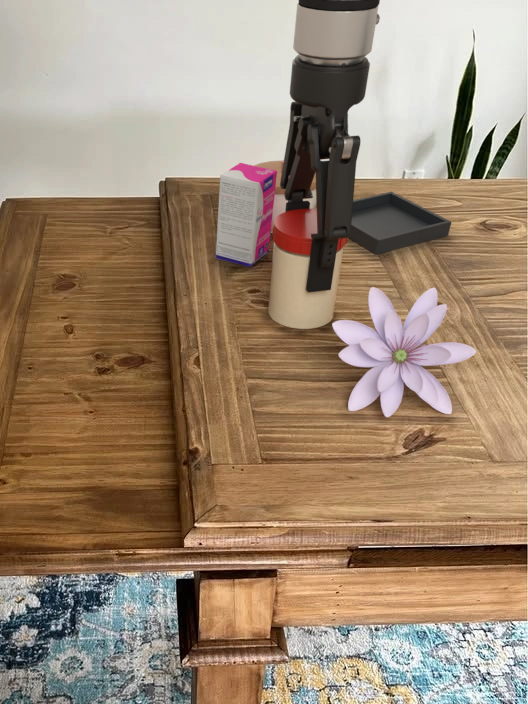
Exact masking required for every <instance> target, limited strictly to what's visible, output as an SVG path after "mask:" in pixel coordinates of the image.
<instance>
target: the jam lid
mask: <svg viewBox="0 0 528 704" xmlns="http://www.w3.org/2000/svg"><path fill="white" fill-rule="evenodd" d="M316 233H317V208H315V209H296V210H291V211H287V212H284V213H282V214H280V215H278V216H277V217H276V218H275V220H274V228H273V234H272V238H271V240H272V241H273V244H274V243H275V244H276V245H277V246H279V247H280V248H282V249H284V250H286V251H289V252H292V253H297V254H303V255H310V254H311V246H312V238H311V234H316ZM347 243H348V238H343V239H338V246H337V251H338V250H340V249H342V248H343V247H344V248H345V246H346V245H347Z"/></svg>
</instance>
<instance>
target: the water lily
mask: <svg viewBox="0 0 528 704" xmlns="http://www.w3.org/2000/svg"><path fill="white" fill-rule="evenodd" d="M438 297H439V295H438V290H437V288H436V287H431V288H429V289H427V290H426V291H424V292H423V293H422V294H421V295H420V296H419V297H418V298H417V300H416V301H414V304H413V305H412V306H411V308H410V310H409V312H408V314H407V315H406V318H405V320H404V321H403V322H402V319H401V316H400V315H398V313H397V312H396V310H395V307H394V305H393V303H392V301H391V300H390V298H389V297H388V296H387V295H386V294H385V292H383V291H382V290H381V289H379V288H378V287H376V286H375V287H374V286H371V287H370V289H369V292H368V299H367V300H368V303H367V304H368V311H369V315H370V317H371V320H372V323H373V325H374V328H375V329H374V328H373V327H370V326H369V325H366V324H364V323H361V322H360V321H356V320H350V319H341V320H335V321H334V322H332V323H331V325H332V329H333V331H334V333H335V334H336V335H337V336H338V338H339V339H340V340H342V342H344V343H345V344H346V345H348V346H346V347H344V348H342V349H341V351H340V352H339V353H338V357H339V359H341V360H342V362H344V363H346V364H348V365H351V366H353V367H357V368H370V369H369V370H368V371H367V372H365V373H364V374H363V376H362V377H361V378H360V379H359V381H358V382H357V383H356V384H355V386H354V387H353V389H352V390H351V392H350V396H349V399H348V402H347V410H348V411H349V412H356V411H361V410H362V409H364V408H366V407H368V406H369V405H371V404H372V403H373V402H374V401H376V400H377V399H378V398H379V397H380V407H381V411H382V413H383V416H384V417H385V418H389V417H391V416H393V415H394V414H395V413H396V412H397V410H398V408H399V406H400V405H401V402H402V400H403V395H404V390H405V386H407V388H409V390H411V391H413V392H415V394H416V395H417V396H418V397H419V398H420V399H421V400H423V401H424V402H426V404H428V405H429V406H430V407H432V408H433V409H434V410H436V411H438V412H440V413H442V414H445V415H451V414H452V412H453V406H452V401H451V398H450V396H449V393H448V391H447V390H446V389H445V387H444V386H443V384H441V382H440V381H439V380H438V379H437V378H436V376H434V375H433V373H431V372H430V371H428V370H427V369H426V368H425V367H426V366H427V367H428V366H429V367H430V366H443V365H444V366H445V365H452V364H457V363H460V362H464V361H466V360H469V359H470V358H472V357H473V356H475V354H477V350H476V349H475V348H474V347H473V346H471V345H468V344H465V343H462V342H455V341H447V342H437V343H431V344H428V345H427V344H423V343H425V342H426V341H427V340H428V339H429V338H430V337H431V336H432V335H433V334H434V333H435V332H436V331H437V329H438V328H439V327H440V326H441V324H442V323H443V321H444V319H445V316H446V314H447V309H448V305H447V304H446V303H445V304H444V303H442V304H439V305H438ZM421 344H423V345H421ZM420 345H421V346H420ZM423 366H424V367H423Z"/></svg>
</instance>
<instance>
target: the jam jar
mask: <svg viewBox="0 0 528 704" xmlns="http://www.w3.org/2000/svg"><path fill="white" fill-rule="evenodd" d="M344 249H345V246H344V247H343V248H342V249H340V250H338V251H337V253H336V259H335V266H334V272H333V279H332V285H331V290H326V291H317V292H308V291H307V290H306V285H307V278H308V270H309V262H310V255H303V254H297V253H292V252H289V251H286V250H284V249H282V248H280V247H279V246H277V245H276V244H275V243H274V242H273V250H272V259H271V260H272V261H271V272H270V283H269V284H270V285H269V294H268V295H269V297H268V306H267V312H268V316H269V317H270V318H271V320H273V322H275V323H277V324H279V325H281V326H284V327H286V328H292V329H296V330H297V329H298V330H312V329H317V328H321V327H324V326H325V325H328V324H329V323H330V322H331V321H332V320H333V319H334V314H335V308H336V303H337V302H336V301H337V295H338V289H339V282H340V276H341V269H342V262H343V255H344Z"/></svg>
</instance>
